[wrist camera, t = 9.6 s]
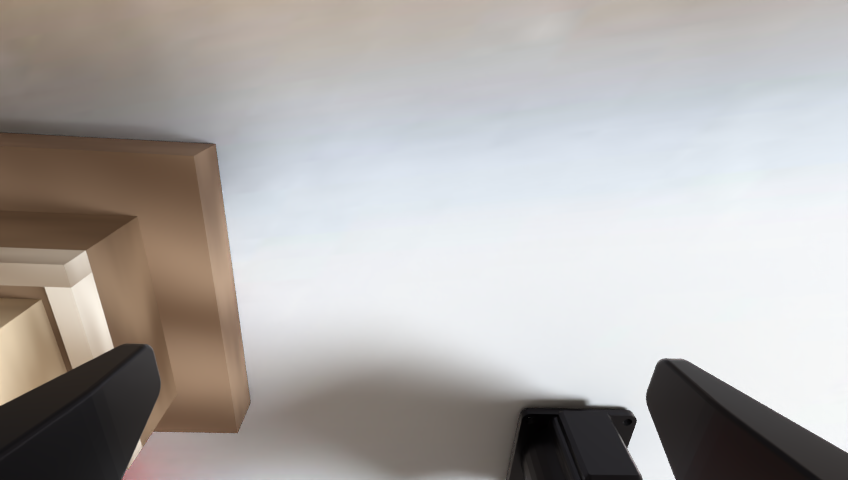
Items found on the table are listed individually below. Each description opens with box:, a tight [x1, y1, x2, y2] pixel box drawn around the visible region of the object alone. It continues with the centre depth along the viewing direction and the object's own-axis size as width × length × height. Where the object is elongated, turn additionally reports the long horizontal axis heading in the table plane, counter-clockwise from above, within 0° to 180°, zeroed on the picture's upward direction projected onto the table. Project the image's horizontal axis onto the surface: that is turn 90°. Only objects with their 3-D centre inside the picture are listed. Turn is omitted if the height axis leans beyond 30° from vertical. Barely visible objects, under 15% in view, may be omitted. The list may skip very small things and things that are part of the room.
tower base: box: [0, 133, 250, 469], centre depth 18 cm, size 14×14×6 cm
